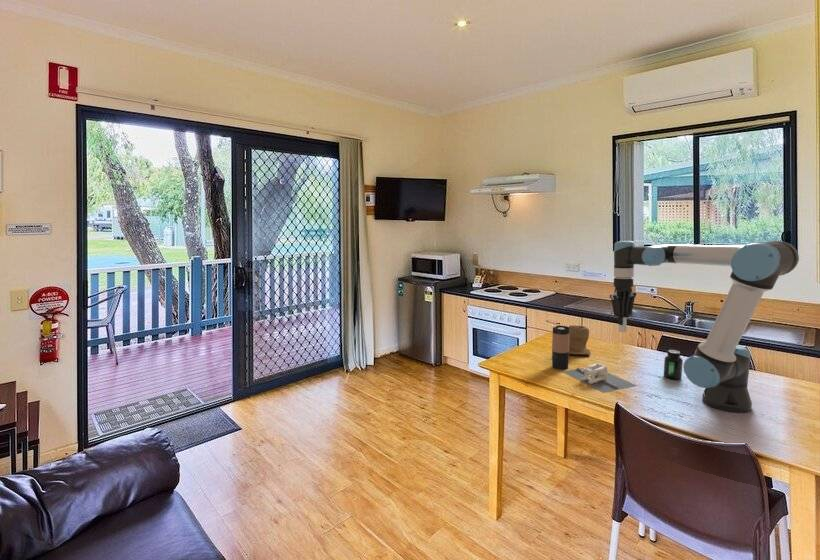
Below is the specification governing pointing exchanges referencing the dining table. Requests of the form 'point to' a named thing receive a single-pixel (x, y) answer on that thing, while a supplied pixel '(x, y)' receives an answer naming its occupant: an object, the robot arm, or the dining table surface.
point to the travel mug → (560, 347)
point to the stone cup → (578, 340)
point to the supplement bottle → (673, 365)
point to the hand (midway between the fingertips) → (622, 331)
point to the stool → (595, 373)
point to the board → (603, 385)
